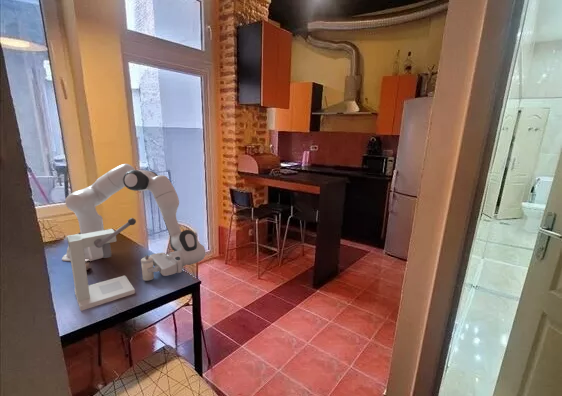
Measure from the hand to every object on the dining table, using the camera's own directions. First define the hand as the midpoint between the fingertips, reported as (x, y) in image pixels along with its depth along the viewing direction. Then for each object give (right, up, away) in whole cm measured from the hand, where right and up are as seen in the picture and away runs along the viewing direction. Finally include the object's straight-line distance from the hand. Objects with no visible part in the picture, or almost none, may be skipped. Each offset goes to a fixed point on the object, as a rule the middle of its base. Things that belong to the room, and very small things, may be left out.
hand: (145, 268), depth 135 cm
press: (-11, -8, -8) cm, 16 cm away
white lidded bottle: (0, -5, +2) cm, 6 cm away
